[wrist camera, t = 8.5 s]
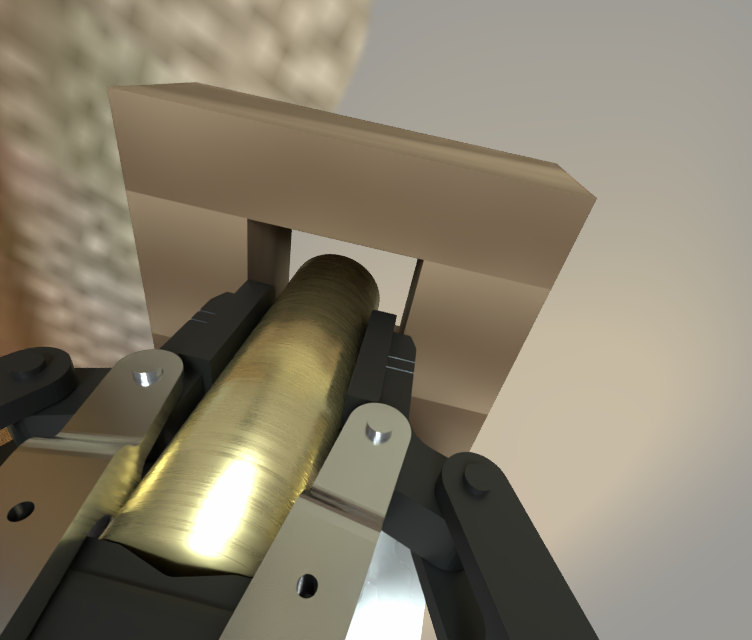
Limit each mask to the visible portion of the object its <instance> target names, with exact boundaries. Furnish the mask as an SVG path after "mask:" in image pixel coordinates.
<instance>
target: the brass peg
mask: <svg viewBox="0 0 752 640" xmlns="http://www.w3.org/2000/svg"><path fill="white" fill-rule="evenodd" d="M378 307H379V290H378V287H377V284H376V282H375V280H374V279H373V277H372V275H371V274H370V273H369V272H368V271H367V269H365V268H364V267H363V266H362V265H361V264H359V263H358V262H356V261H354V260H353V259H350V258H348V257H345V256H341V255H336V254H325V255H320V256H316V257H314V258H311V259H310V260H308V261H307V262H305V263H304V264H303V265H302V266H301V267H300V269H299V270H298V271H297V272H296V274H295V275H294V276H293V278H292V279H291V280H290V282H289V283H288V284H287V286H286V287H285V288H284V290H283V291H282V292H281V294H280V295H279V296H278V298H277V299H276V301H275V302H274V303H273V305H272V306H271V307H270V309H269V310H268V311H267V313H266V314H265V315H264V317H263V318H262V319H261V321H260V322H259V323H258V325H257V326H256V327H255V329H254V330H253V331H252V333H251V334H250V336H249V337H248V338H247V340H246V341H245V342H244V344H243V345H242V346H241V348H240V349H239V350H238V352H237V353H236V354H235V356H234V357H233V358H232V360H231V361H230V362H229V364H228V365H227V366H226V368H225V369H224V370H223V372H222V373H221V375H220V376H219V377H218V379H217V380H216V381H215V383H214V384H213V385H212V387H211V388H210V389H209V391H208V392H207V393H206V395H205V396H204V397H203V399H202V400H201V401H200V403H199V404H198V405H197V407H196V408H195V410H194V411H193V412H192V414H191V415H190V416H189V418H188V419H187V420H186V422H185V423H184V424H183V426H182V427H181V428H180V430H179V431H178V432H177V434H176V435H175V436H174V438H173V439H172V440H171V442H170V443H169V444H168V446H167V447H166V449H165V450H164V451H163V453H162V454H161V455H160V457H159V458H158V459H157V461H156V462H155V463H154V465H153V466H152V467H151V469H150V470H149V471H148V473H147V474H146V475H145V477H144V478H143V479H142V481H141V482H140V483H139V485H138V486H137V488H136V489H135V490H134V492H133V493H132V494H131V496H130V497H129V498H128V500H127V501H126V502H125V504H124V505H123V507H122V508H121V510H120V511H119V512H118V514H117V515H116V517H115V518H114V519H113V520H112V521H111V523H110V524H109V525H108V527H107V528H106V529H105V531H104V532H103V533H102V535H101V536H100V537H99V539H100V540H104V541H108V542H112V543H116V544H120V545H121V546H123V547H124V548H126V549H127V550H129V551H130V552H132V553H133V554H135V555H136V556H138V557H139V558H141V559H142V560H143V561H145V562H146V563H148V564H149V565H151V566H152V567H154V568H155V569H157V570H158V571H160V572H161V573H163V574H164V575H166V576H169V577H195V576H223V575H238V576H242V577H246V578H250V579H253V577H254V575H255V573H256V572H257V570H258V568H259V566H260V564H261V563H262V561H263V559H264V557H265V555H266V554H267V552H268V550H269V548H270V546H271V545H272V543H273V541H274V539H275V537H276V536H277V534H278V532H279V530H280V528H281V527H282V525H283V523H284V521H285V519H286V518H287V516H288V514H289V512H290V510H291V509H292V507H293V505H294V503H295V502H296V500H297V499H298V497H299V496H300V494H301V493H302V492H303V491H304V490H305V489H307V490H309V489H310V488H311V486H312V485H313V483H314V481H315V479H316V478H317V476H318V474H319V472H320V470H321V468H322V466H323V464H324V463H325V461H326V459H327V457H328V455H329V453H330V451H331V450H332V448H333V446H334V444H335V442H336V440H337V438H338V437H339V435H340V433H341V431H342V421H341V419H342V414H343V409H344V403H345V398H346V394H347V390H348V387H349V384H350V381H351V378H352V374H353V371H354V368H355V365H356V361H357V358H358V355H359V352H360V349H361V345H362V342H363V339H364V336H365V332H366V329H367V326H368V323H369V320H370V316H371V313H372V310H378Z"/></svg>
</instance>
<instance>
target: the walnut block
mask: <svg viewBox="0 0 752 640" xmlns="http://www.w3.org/2000/svg"><path fill="white" fill-rule="evenodd" d="M107 90H108V95H109V101H110V106H111V112H112V117H113V123H114V128H115V134H116V139H117V145H118V150H119V156H120V161H121V167H122V172H123V177H124V183H125V188H126V194H127V199H128V205H129V210H130V216H131V221H132V227H133V232H134V238H135V243H136V249H137V254H138V260H139V265H140V270H141V276H142V281H143V287H144V292H145V298H146V303H147V309H148V314H149V320H150V325H151V331H152V336H153V342H154V347H155V349H160V348H161V347H162V346H163V345H164V344H165V343H166V342H167V341H168V340H169V339H170V338H171V337H172V336H173V335H174V334H175V333H176V332H177V331H178V330H179V329H180V328H181V327H182V326H183V325H184V324H185V323H186V322H187V321H188V320H191V318H192V317H193V316H194V315H195V314H196V313H197V312H198V311H200V309H201V308H202V307H203V306H204V305H205V304H206V303H207V302H208V301H209V300H210V299H211V298H214V297H216V296H218V295H220V294H223V293H225V292H230V293H235V292H236V291H237V290H238V289H239V288H240V287H241V286H242V285H243V284H244V283H245V282H246V281H247V280H253V281H257V282H261V283H265V284H270V285H273V286H275V290H276V298H275V301H276V299H277V298H278V296H279V295H280V294H281V292H282V291H283V290H284V288H285V287H286V286H287V284H288V283H289V265H290V250H291V233H292V229H294V230H298V231H302V232H307V233H311V234H315V235H319V236H324V237H328V238H332V239H336V240H341V241H345V242H349V243H353V244H358V245H362V246H366V247H371V248H375V249H380V250H383V251H388V252H392V253H396V254H401V255H405V256H409V257H414V258H417V259H418V260H417V265H416V267H415V271H414V275H413V279H412V282H411V286H410V290H409V294H408V298H407V301H406V305H405V309H404V313H403V316H402V320H401V324H400V326H396V325H395V327H394V331H393V332H396V333H400V334H404V335H408V336H411V338H412V340H413V342H414V344H415V346H416V358H415V368H414V374H413V375H414V377H413V386H412V395H411V404H410V413H409V419H410V424H411V427H412V429H413V431H414V433H415V434H416V435H417V437H418V438H419V439H420V440H421V441H422V442H423V443H425V444H426V445H427V446H429V447H430V448H432V449H434V450H435V451H437V452H439V453H441V454H442V455H444V456H446V457H448V458H449V457H450V456H452V455H454V454H456V453H460V452H469V451H470V449H471V447H472V445H473V443H474V441H475V439H476V437H477V435H478V433H479V431H480V429H481V427H482V425H483V423H484V421H485V419H486V417H487V415H488V413H489V411H490V409H491V407H492V405H493V403H494V401H495V399H496V398H497V396H498V393H499V391H500V390H501V388H502V385H503V384H504V382H505V380H506V378H507V376H508V374H509V372H510V370H511V368H512V366H513V364H514V362H515V360H516V358H517V356H518V354H519V352H520V350H521V348H522V346H523V344H524V342H525V340H526V338H527V336H528V334H529V332H530V330H531V328H532V326H533V324H534V322H535V320H536V318H537V316H538V314H539V312H540V310H541V308H542V306H543V304H544V302H545V300H546V298H547V296H548V294H549V292H550V290H551V288H552V286H553V284H554V282H555V280H556V279H557V276H558V275H559V273H560V271H561V269H562V266H563V265H564V263H565V261H566V258H567V257H568V255H569V252H570V251H571V249H572V247H573V245H574V243H575V241H576V239H577V237H578V235H579V233H580V231H581V229H582V227H583V225H584V223H585V221H586V219H587V217H588V215H589V213H590V211H591V209H592V207H593V205H594V203H595V201H596V199H597V198H596V197H595V196H594V195H593V194H591V193H590V192H589V191H588V190H587V189H585V188H584V187H583V186H582V185H581V184H580V183H579V182H577V181H576V180H575V179H574V178H573V177H571V176H570V175H569V174H568V173H567V172H566V171H565V170H563V169H562V168H561V167H560V166H559V165H558V164H555V163H551V162H546V161H543V160H538V159H534V158H529V157H525V156H520V155H516V154H511V153H507V152H503V151H498V150H493V149H489V148H485V147H480V146H476V145H471V144H467V143H463V142H458V141H454V140H449V139H445V138H441V137H436V136H431V135H427V134H423V133H418V132H414V131H409V130H405V129H401V128H396V127H391V126H387V125H383V124H378V123H374V122H369V121H365V120H360V119H356V118H352V117H347V116H343V115H338V114H334V113H330V112H325V111H321V110H316V109H312V108H307V107H303V106H298V105H294V104H290V103H285V102H281V101H276V100H272V99H267V98H263V97H259V96H254V95H250V94H245V93H241V92H236V91H232V90H227V89H223V88H219V87H214V86H210V85H205V84H201V83H196V82H194V83H175V84H155V85H136V86H117V87H107Z"/></svg>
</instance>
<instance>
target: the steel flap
mask: <svg viewBox="0 0 752 640" xmlns="http://www.w3.org/2000/svg"><path fill="white" fill-rule="evenodd" d="M424 607H425V598H424V595H423V591H422V588H421V585H420V582H419V578H418V575H417V572H416V569H415V566H414V562H413V559H412V556H411V552H410V549H409V548H407V547H406V546H404V545H403V544H401V543H400V542H398V541H397V540H395V539H394V538H392V537H390V536H389V535H387V534H386V533H384V532H383V531H381V532H380V535H379V539H378V542H377V545H376V548H375V551H374V554H373V557H372V560H371V563H370V566H369V569H368V572H367V575H366V578H365V581H364V584H363V588H362V591H361V594H360V597H359V600H358V603H357V606H356V609H355V612H354V615H353V618H352V621H351V624H350V627H349V630H348V633H347V636H346V640H420V636H421V629H422V622H423V614H424Z"/></svg>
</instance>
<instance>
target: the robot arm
mask: <svg viewBox="0 0 752 640" xmlns="http://www.w3.org/2000/svg"><path fill="white" fill-rule="evenodd" d="M275 298H276V290H275V286H273V285H270V284H265V283H261V282H257V281H253V280H247V281H246V282H245V283H244V284H243V285H242V286H241V287H240V288H239V289H238V290H237V291H236V292H235V293H230V292H225V293H223V294H220V295H218V296H216V297H214V298H211V299H210V300H209V301H208V302H207V303H206V304H205V305H204V306H203V307H202V308H201V309H200V311H198V312H197V313H196V314H195V315H194V316H193V317H192V318H191V320H188V321H187V322H186V323H185V324H184V325H183V326H182V327H181V328H180V329H179V330H178V331H177V332H176V333H175V334H174V335H173V336H172V337H171V338H170V339H169V340H168V341H167V342H166V343H165V344H164V345H163V346H162V347H161V348H160V349H151V350H143V351H139V352H136V353H132V354H130V355H128V356H126V357H124V358H122V359H121V360H120V361H118V362H117V363H116V364H115V365H114V366H113V368H74V366H73V363H72V361H71V358H70V356H69V355H68V353H66V352H65V351H63V350H61V349H57V348H52V347H35V348H29V349H24V350H20V351H17V352H14V353H11V354H8V355H5V356H3V357H0V430H1V429H3V428H5V427H7V429H8V431H9V433H10V434H11V436H12V438H13V440H12V441H10V442H8V443H6V444H4V445H2V446H0V640H346V636H347V633H348V630H349V627H350V624H351V621H352V618H353V615H354V612H355V609H356V606H357V603H358V600H359V597H360V594H361V591H362V588H363V584H364V581H365V578H366V575H367V572H368V569H369V566H370V563H371V560H372V557H373V554H374V551H375V548H376V545H377V542H378V539H379V535H380V532H381V531H383V532H384V533H386V534H387V535H389V536H390V537H392V538H394V539H395V540H397V541H398V542H400V543H401V544H403V545H404V546H406V547H407V548H409V549H410V552H411V556H412V559H413V562H414V566H415V569H416V572H417V575H418V578H419V582H420V585H421V588H422V591H423V595H424V598H425V601H426V604H427V607H428V611H429V614H430V617H431V620H432V624H433V627H434V630H435V633H436V637H437V640H599V639H598V637H597V635H596V633H595V631H594V630H593V628H592V626H591V624H590V623H589V621H588V619H587V618H586V616H585V614H584V612H583V610H582V609H581V607H580V605H579V603H578V602H577V600H576V598H575V597H574V595H573V593H572V591H571V590H570V588H569V586H568V584H567V583H566V581H565V579H564V577H563V576H562V574H561V572H560V570H559V569H558V567H557V565H556V563H555V562H554V560H553V558H552V557H551V555H550V553H549V551H548V549H547V548H546V546H545V544H544V542H543V541H542V539H541V537H540V535H539V534H538V532H537V530H536V528H535V527H534V525H533V523H532V521H531V520H530V518H529V516H528V514H527V513H526V511H525V509H524V507H523V506H522V504H521V502H520V501H519V499H518V497H517V495H516V493H515V492H514V490H513V488H512V487H511V485H510V483H509V481H508V480H507V478H506V476H505V475H504V473H503V472H502V471H501V469H500V468H499V467H498V466H497V465H495V464H494V463H493V462H492V461H490V460H489V459H487V458H485V457H484V456H481V455H479V454H475V453H472V452H460V453H456V454H454V455H452V456H450V457H449V458H448V457H446V456H444V455H442V454H441V453H439V452H437V451H435V450H434V449H432V448H430V447H429V446H427V445H426V444H425V443H423V442H422V441H421V440H420V439H419V438H418V437H417V435H416V434H415V433H414V431H413V429H412V427H411V424H410V419H409V413H410V404H411V395H412V386H413V377H414V375H413V374H414V368H415V358H416V346H415V344H414V342H413V340H412V338H411V336H408V335H404V334H400V333H396V332H393V331H394V327H395V322H396V317H397V315H394V314H390V313H386V312H381V311H378V310H372V313H371V316H370V320H369V323H368V326H367V329H366V332H365V336H364V339H363V342H362V345H361V349H360V352H359V355H358V358H357V361H356V365H355V368H354V371H353V374H352V378H351V381H350V384H349V387H348V390H347V394H346V398H345V403H344V409H343V414H342V419H341V421H342V431H341V433H340V435H339V437H338V438H337V440H336V442H335V444H334V446H333V448H332V450H331V451H330V453H329V455H328V457H327V459H326V461H325V463H324V464H323V466H322V468H321V470H320V472H319V474H318V476H317V478H316V479H315V481H314V483H313V485H312V486H311V488H310V489H309V490H307V489H305V490H304V491H303V492H302V493H301V494H300V496H299V497H298V499H297V500H296V502H295V503H294V505H293V507H292V509H291V510H290V512H289V514H288V516H287V518H286V519H285V521H284V523H283V525H282V527H281V528H280V530H279V532H278V534H277V536H276V537H275V539H274V541H273V543H272V545H271V546H270V548H269V550H268V552H267V554H266V555H265V557H264V559H263V561H262V563H261V564H260V566H259V568H258V570H257V572H256V573H255V575H254V577H253V579H250V578H246V577H242V576H238V575H223V576H195V577H169V576H166V575H164V574H163V573H161V572H160V571H158V570H157V569H155V568H154V567H152V566H151V565H149V564H148V563H146V562H145V561H143V560H142V559H141V558H139V557H138V556H136V555H135V554H133V553H132V552H130V551H129V550H127V549H126V548H124V547H123V546H121V545H120V544H116V543H112V542H108V541H104V540H100V539H99V537H100V536H101V535H102V533H103V532H104V531H105V529H106V528H107V527H108V525H109V524H110V523H111V521H112V520H113V519H114V518H115V517H116V515H117V514H118V512H119V511H120V510H121V508H122V507H123V505H124V504H125V502H126V501H127V500H128V498H129V497H130V496H131V494H132V493H133V492H134V490H135V489H136V488H137V486H138V485H139V483H140V482H141V481H142V479H143V478H144V477H145V475H146V474H147V473H148V471H149V470H150V469H151V467H152V466H153V465H154V463H155V462H156V461H157V459H158V458H159V457H160V455H161V454H162V453H163V451H164V450H165V449H166V447H167V446H168V444H169V443H170V442H171V440H172V439H173V438H174V436H175V435H176V434H177V432H178V431H179V430H180V428H181V427H182V426H183V424H184V423H185V422H186V420H187V419H188V418H189V416H190V415H191V414H192V412H193V411H194V410H195V408H196V407H197V405H198V404H199V403H200V401H201V400H202V399H203V397H204V396H205V395H206V393H207V392H208V391H209V389H210V388H211V387H212V385H213V384H214V383H215V381H216V380H217V379H218V377H219V376H220V375H221V373H222V372H223V370H224V369H225V368H226V366H227V365H228V364H229V362H230V361H231V360H232V358H233V357H234V356H235V354H236V353H237V352H238V350H239V349H240V348H241V346H242V345H243V344H244V342H245V341H246V340H247V338H248V337H249V336H250V334H251V333H252V331H253V330H254V329H255V327H256V326H257V325H258V323H259V322H260V321H261V319H262V318H263V317H264V315H265V314H266V313H267V311H268V310H269V309H270V307H271V306H272V305H273V303H274V302H275Z"/></svg>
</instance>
